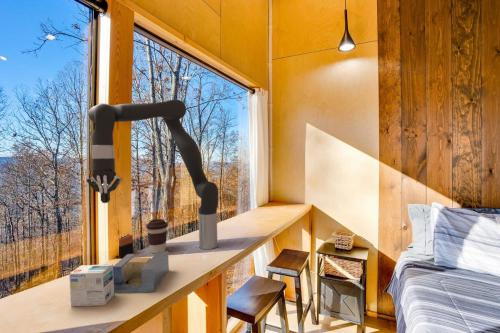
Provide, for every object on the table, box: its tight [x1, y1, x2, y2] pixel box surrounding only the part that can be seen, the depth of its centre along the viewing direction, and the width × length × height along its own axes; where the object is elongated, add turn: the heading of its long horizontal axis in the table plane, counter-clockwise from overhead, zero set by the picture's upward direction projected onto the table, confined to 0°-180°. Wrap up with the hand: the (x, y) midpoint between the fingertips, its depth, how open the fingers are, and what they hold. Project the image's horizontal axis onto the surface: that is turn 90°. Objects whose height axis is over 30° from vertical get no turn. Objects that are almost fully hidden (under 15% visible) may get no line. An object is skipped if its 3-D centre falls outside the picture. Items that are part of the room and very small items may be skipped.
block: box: [127, 257, 152, 284], centre depth 99 cm, size 4×7×8 cm, turn 90°
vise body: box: [103, 250, 170, 294], centre depth 99 cm, size 17×26×8 cm, turn 90°
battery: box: [119, 234, 134, 259], centre depth 125 cm, size 4×7×10 cm, turn 152°
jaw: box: [113, 253, 137, 284], centre depth 99 cm, size 12×7×8 cm, turn 0°
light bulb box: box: [69, 263, 115, 307], centre depth 86 cm, size 11×7×11 cm, turn 92°
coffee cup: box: [145, 218, 169, 254], centre depth 130 cm, size 10×10×15 cm
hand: (105, 202), depth 102 cm, fingers closed
